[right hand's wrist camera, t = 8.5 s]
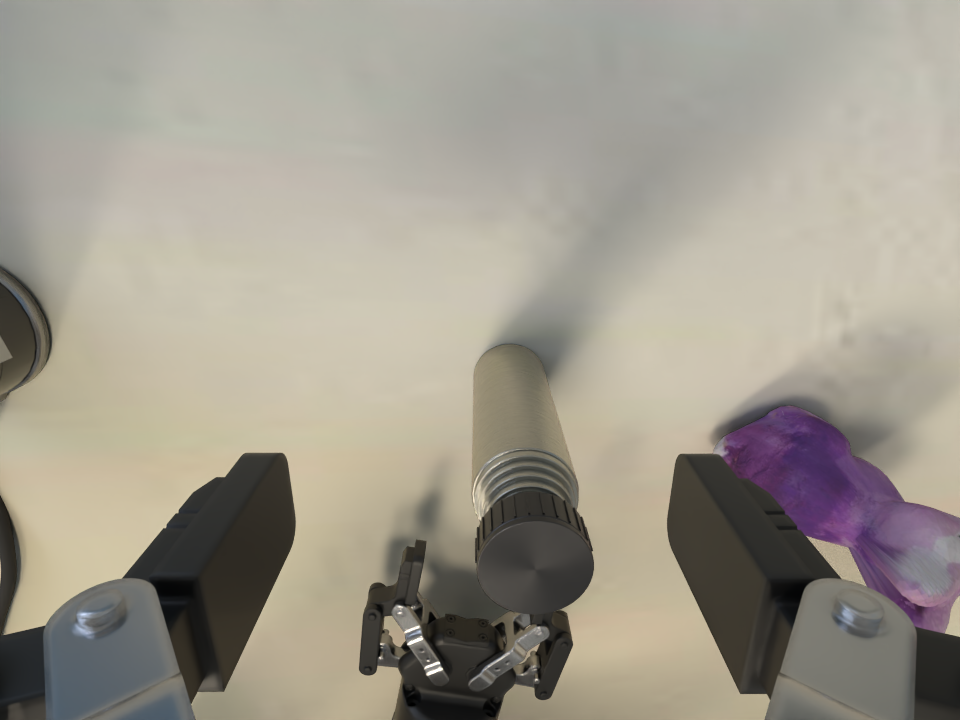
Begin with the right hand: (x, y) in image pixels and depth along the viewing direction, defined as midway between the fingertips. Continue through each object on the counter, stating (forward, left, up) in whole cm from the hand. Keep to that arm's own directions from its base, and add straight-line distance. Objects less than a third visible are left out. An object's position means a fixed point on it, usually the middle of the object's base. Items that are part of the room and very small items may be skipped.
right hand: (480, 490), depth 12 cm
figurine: (0, -26, -26) cm, 37 cm away
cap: (-6, -6, -7) cm, 11 cm away
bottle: (-6, -6, -26) cm, 27 cm away
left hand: (-16, -10, -20) cm, 27 cm away
